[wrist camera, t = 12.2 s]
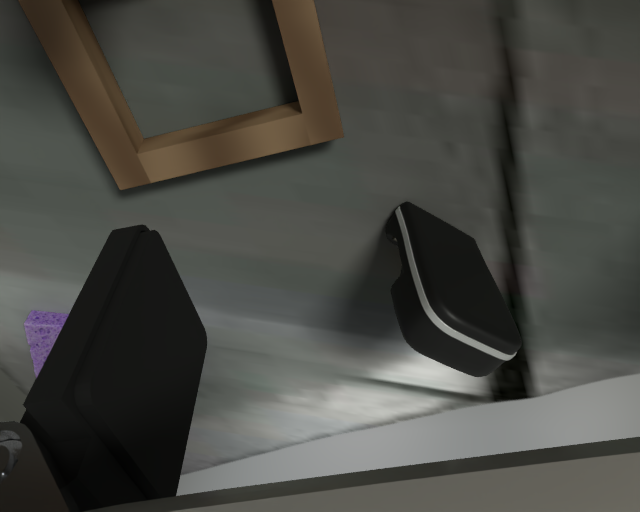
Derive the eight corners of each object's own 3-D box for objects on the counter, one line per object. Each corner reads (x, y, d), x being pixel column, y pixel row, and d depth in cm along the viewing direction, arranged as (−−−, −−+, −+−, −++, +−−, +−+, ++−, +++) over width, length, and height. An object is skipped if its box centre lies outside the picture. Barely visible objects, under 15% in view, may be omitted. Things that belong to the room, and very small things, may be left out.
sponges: (32, 305, 42) (22, 323, 40) (198, 322, 44) (194, 339, 42) (43, 365, 46) (34, 383, 45) (193, 378, 48) (190, 395, 47)
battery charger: (369, 234, 39) (394, 356, 30) (402, 195, 37) (440, 312, 28) (443, 272, 41) (487, 395, 32) (477, 238, 39) (534, 357, 30)
